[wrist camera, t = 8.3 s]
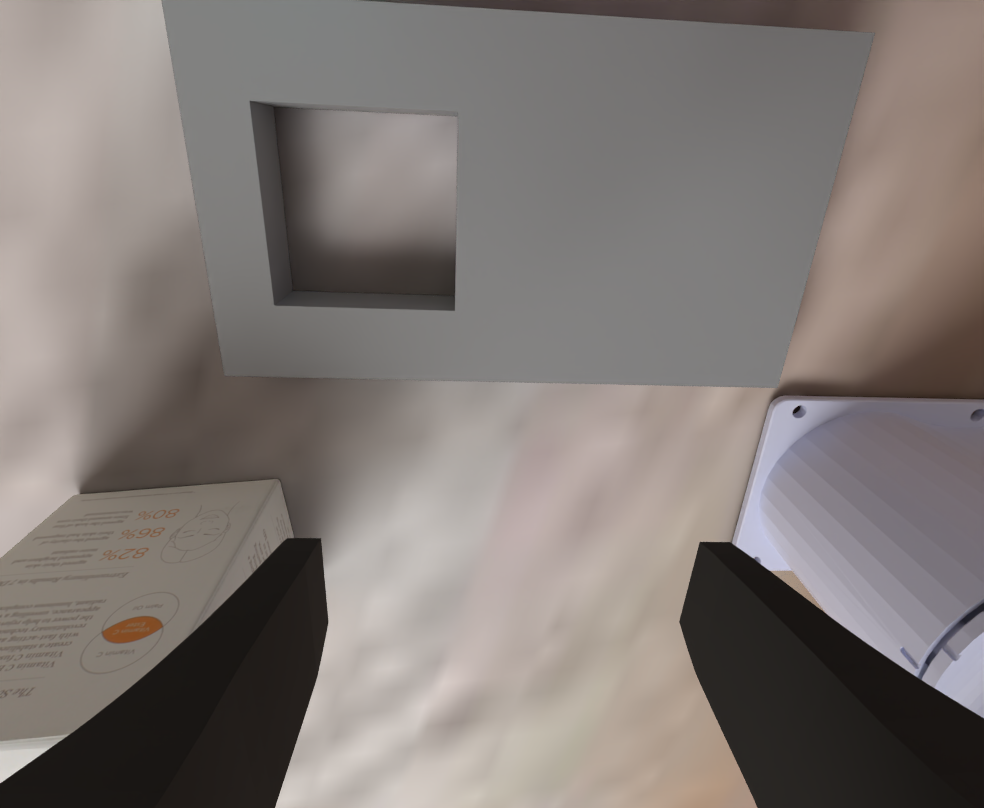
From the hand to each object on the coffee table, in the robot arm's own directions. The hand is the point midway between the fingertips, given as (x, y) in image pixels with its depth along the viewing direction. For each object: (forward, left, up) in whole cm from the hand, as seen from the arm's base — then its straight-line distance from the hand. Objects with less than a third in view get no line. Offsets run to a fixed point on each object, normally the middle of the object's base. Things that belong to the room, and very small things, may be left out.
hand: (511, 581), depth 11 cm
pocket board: (-1, -6, -10) cm, 12 cm away
